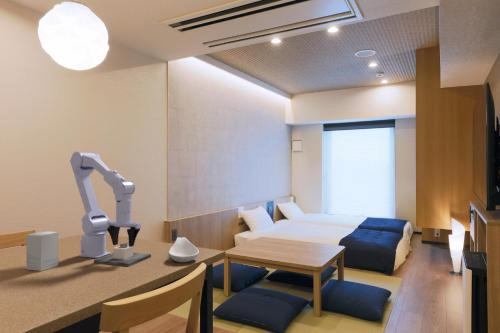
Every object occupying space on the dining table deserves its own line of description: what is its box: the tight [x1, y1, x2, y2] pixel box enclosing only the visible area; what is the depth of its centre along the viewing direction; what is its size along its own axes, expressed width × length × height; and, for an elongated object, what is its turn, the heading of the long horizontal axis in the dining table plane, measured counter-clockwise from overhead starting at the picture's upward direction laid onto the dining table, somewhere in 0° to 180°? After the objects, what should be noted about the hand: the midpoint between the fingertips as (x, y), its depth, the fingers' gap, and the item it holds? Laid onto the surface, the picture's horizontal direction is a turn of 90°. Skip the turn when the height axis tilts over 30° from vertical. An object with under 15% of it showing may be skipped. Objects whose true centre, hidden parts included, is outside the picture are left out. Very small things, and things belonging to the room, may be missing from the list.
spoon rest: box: [168, 236, 200, 263], centre depth 136 cm, size 24×12×7 cm, turn 19°
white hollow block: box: [112, 245, 134, 259], centre depth 132 cm, size 5×5×4 cm
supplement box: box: [25, 230, 59, 272], centre depth 121 cm, size 7×7×13 cm
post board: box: [93, 242, 152, 267], centre depth 132 cm, size 16×14×6 cm
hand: (123, 245), depth 132 cm, fingers open, 7 cm apart
